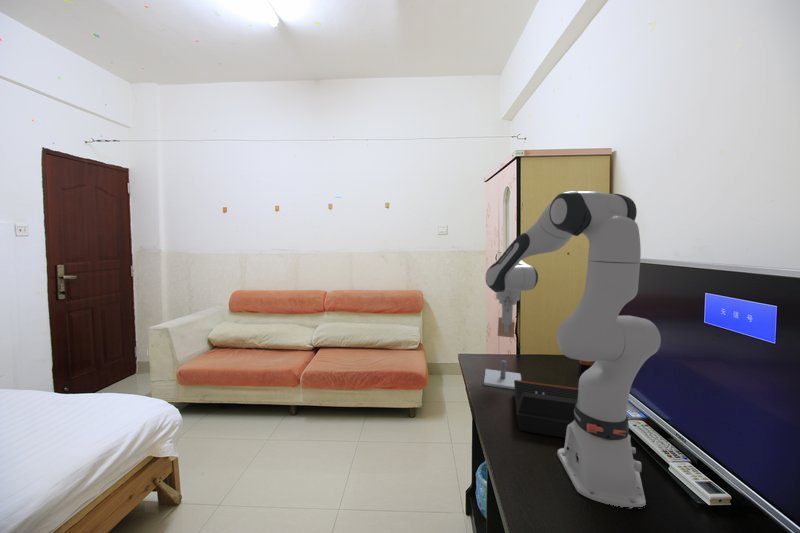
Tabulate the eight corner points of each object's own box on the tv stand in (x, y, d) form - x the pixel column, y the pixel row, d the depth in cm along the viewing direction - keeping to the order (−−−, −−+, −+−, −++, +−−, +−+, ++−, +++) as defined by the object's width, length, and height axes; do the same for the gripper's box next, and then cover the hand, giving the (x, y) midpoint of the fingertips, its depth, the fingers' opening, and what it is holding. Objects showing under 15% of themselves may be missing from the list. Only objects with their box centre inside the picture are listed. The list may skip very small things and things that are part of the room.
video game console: (599, 407, 121) (601, 380, 120) (622, 451, 97) (625, 417, 96) (513, 394, 129) (514, 368, 128) (515, 432, 105) (517, 400, 104)
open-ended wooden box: (513, 337, 134) (514, 322, 134) (497, 335, 136) (498, 320, 135) (513, 333, 140) (514, 318, 139) (498, 331, 142) (498, 317, 141)
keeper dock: (521, 390, 132) (523, 370, 131) (483, 385, 136) (484, 365, 135) (520, 375, 145) (521, 357, 144) (485, 371, 149) (486, 353, 148)
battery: (598, 379, 143) (600, 356, 142) (580, 377, 144) (581, 354, 143) (595, 375, 147) (597, 352, 146) (577, 373, 149) (579, 350, 148)
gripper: (517, 300, 126) (515, 337, 127) (515, 291, 145) (514, 323, 147) (499, 299, 127) (497, 336, 129) (500, 290, 147) (498, 322, 148)
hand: (506, 329), depth 138 cm, fingers closed on open-ended wooden box, 6 cm apart
